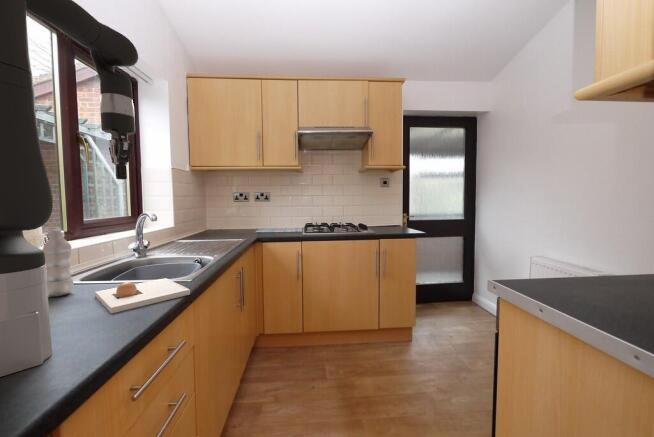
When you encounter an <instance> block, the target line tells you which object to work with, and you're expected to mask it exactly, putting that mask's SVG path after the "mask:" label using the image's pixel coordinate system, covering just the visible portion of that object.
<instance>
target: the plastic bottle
mask: <svg viewBox="0 0 654 437" xmlns="http://www.w3.org/2000/svg"><path fill="white" fill-rule="evenodd" d="M65 237H66V235H65V230H51V231H50V230H49V231H47V238H48V240H47V241H46V242H45V244H44V245H43V247H42V250H43V252H44V254H45V263H46V277H47V292H48V297H62V296H65V295H69V294H71V293H72V292H73V290H74V287H75V285H74V284H75V283H74V281H73V278H72V272H71V254H72V245H71V244H70V242H69V241H67V239H65Z"/></svg>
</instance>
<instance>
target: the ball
mask: <svg viewBox="0 0 654 437" xmlns="http://www.w3.org/2000/svg"><path fill="white" fill-rule="evenodd" d="M135 284H136V283H133V282H132V281H125V282H122V283H121V284H119V285H118V286H117V287H118V288H117V287H116V288H117V290H116V294H117V296H118V297H119V298H118V299H120V298H125V297H130V296H134V295H137V294H136V291H137V288H136V286H135Z"/></svg>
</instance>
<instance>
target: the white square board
mask: <svg viewBox="0 0 654 437" xmlns="http://www.w3.org/2000/svg"><path fill="white" fill-rule="evenodd" d="M134 284H135V286H136V288H137V291H136V294H135V295H134V296H130V297H125V298H117V297H118V296H117V294H116V290H117V288H118V286H117V287H112V288H109V289H108V288H107V289H103V290H97V291H94V295H95V298H97V300H98V302H100V303H101V304H102V305H103V306H104V308H106V309H107V311H108V312H109V313H110V314H115V313H118V312H123V311H127V310H132V309H136V308H140V307H143V306H147V305H152V304H155V303H160V302H164V301H168V300H169V301H170V300H172V299H176V298H180V297H184V296H189V295H191V290H190V289H189V288H187V287H185V286H183V285H181V284H179V283H177V282H175V281H172V280H171V279H168V278H166V277H165V278H159V279H154V280H150V281H144V282H139V283H134Z"/></svg>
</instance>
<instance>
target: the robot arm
mask: <svg viewBox="0 0 654 437" xmlns="http://www.w3.org/2000/svg"><path fill="white" fill-rule="evenodd" d="M27 11H28V12H30V13H31V14H33V15H35V16H37V17H38V18H40V19H42V20H43V21H45V22H47V23H48V24H50V25H52V26H53V27H55V28H56V29H58V30H59V31H60V32H62V33H63V34H65V35H66V36H68V37H69V38H71V39H72V40H73V41H75V42H76V43H78V44H79V45H81V46H82V47H85V48H86V49H89V53H90V57H91V58H92V59H91V60H92V61H93V64H94V68H95V70H96V73H97V77H98V78H99V89H100V90H99V92H100V97H99V98H100V99H99V101H100V102H99V110H100V112H99V113H100V114H99V115H100V129H101V131H102V132H104V133H106V134H109V135H111V137H110V139H109V140H108V143H109V144H108V145H109V146H108V150H109V156H110V158H111V159H110V160H111V163H112V164H113V165H114V167H115V168H114V169H115V179H117V180H123V181H124V180H127V179H128V176H127V174H128V173H127V171H128V170H127V166H128V164H129V163H130V156H131V150H132V142H130V140H129V136H133V135H135V134H136V122H135V121H136V118H135V106H134V103H133V102H134V101H133V86H132V81H131V79H130V78H129V77H128V76H126V75H124V74H122V73H119V72H115V68H116V67H117V68H124V67H125V68H128V67H129V68H130V67H133V66H135V65H136V64H137V62H138V60H139V53H138V50H137V48H136V47H135V45H134V44H133V42H132V41H131V40H130V39H129V38H128V37H127V36H125V35H124V34H122V33H120V32H119V31H117V30H115V29H113V28H112V27H110V26H108V25H106V24H103V23H102V22H100V21H98V20H97V19H96V18H95V17H94V16H93V15H91V14H90V13H89V12H88V11H87V10H86V9H84V8H83V7H82V6H81V5H80V4H78V3H77V2H75V1H74V0H0V378H1V377H4V376H8V375H11V374H14V373H17V372H21V371H24V370H27V369H30V368H31V369H32V368H33V367H38V366H40V365H43V364H44V362H45V360H47V359H49V358H50V356H52V354H53V345H52V333H51V332H52V331H51V321H50V307H49V305H50V304H49V296H48V292H47V277H46V273H47V270H46V268H47V267H46V263H45V254H44V252H43V249H41V248H38V246H35V245H33V244H32V243H30V242H29V241H28V240H27V239H26V238H25V235H24V232H23V231H33V230H36V229H39V228H41V227H43V226H45V225H46V223H47V222H48V221H49V219H51V218H50V217H51V215H52V213H53V208H54V203H53V202H54V200H53V195H52V189H51V184H50V180H49V177H48V172H47V169H46V164H45V161H44V156H43V153H42V147H41V140H40V133H39V126H38V120H37V113H36V101H35V96H36V95H35V88H34V79H33V71H32V67H31V66H32V65H31V59H30V51H29V49H30V48H29V37H28V25H27V24H28V22H27Z"/></svg>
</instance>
